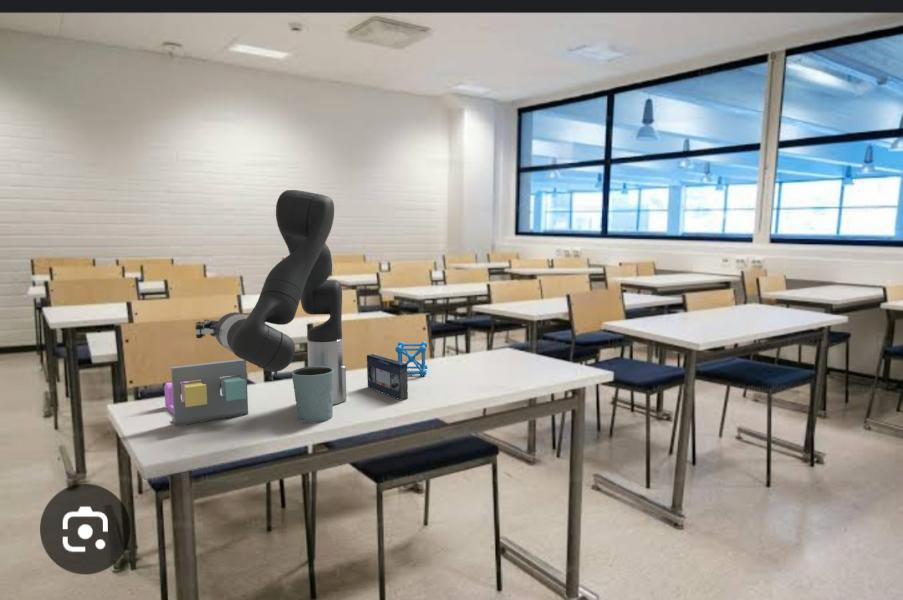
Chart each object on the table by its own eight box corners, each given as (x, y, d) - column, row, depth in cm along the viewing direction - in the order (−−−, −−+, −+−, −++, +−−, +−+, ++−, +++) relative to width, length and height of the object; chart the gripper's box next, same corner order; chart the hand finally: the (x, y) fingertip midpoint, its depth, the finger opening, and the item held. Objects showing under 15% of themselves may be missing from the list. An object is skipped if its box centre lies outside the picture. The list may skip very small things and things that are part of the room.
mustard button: (201, 397, 146) (200, 379, 145) (207, 404, 140) (206, 384, 140) (181, 400, 143) (180, 382, 143) (186, 407, 138) (185, 387, 137)
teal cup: (342, 417, 148) (341, 370, 147) (306, 426, 141) (305, 377, 140) (321, 409, 155) (320, 364, 154) (285, 417, 149) (284, 370, 147)
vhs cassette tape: (366, 387, 178) (366, 354, 177) (375, 385, 180) (375, 353, 179) (399, 400, 164) (398, 365, 162) (408, 399, 165) (408, 363, 164)
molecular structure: (426, 377, 191) (426, 346, 190) (395, 377, 191) (394, 346, 190) (427, 370, 201) (427, 340, 200) (398, 370, 201) (397, 340, 200)
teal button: (239, 392, 150) (238, 374, 150) (246, 398, 145) (245, 379, 145) (220, 395, 148) (219, 377, 147) (226, 401, 143) (225, 382, 142)
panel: (243, 409, 155) (240, 356, 154) (248, 414, 151) (246, 360, 150) (172, 420, 146) (169, 364, 145) (175, 426, 142) (172, 368, 140)
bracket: (165, 407, 158) (164, 381, 157) (187, 403, 162) (186, 378, 161) (180, 418, 148) (178, 391, 147) (203, 414, 152) (201, 387, 151)
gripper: (275, 311, 120) (252, 304, 134) (199, 317, 112) (184, 308, 126) (276, 348, 121) (254, 337, 135) (201, 356, 113) (185, 343, 127)
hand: (220, 323), depth 131 cm, fingers open, 5 cm apart
